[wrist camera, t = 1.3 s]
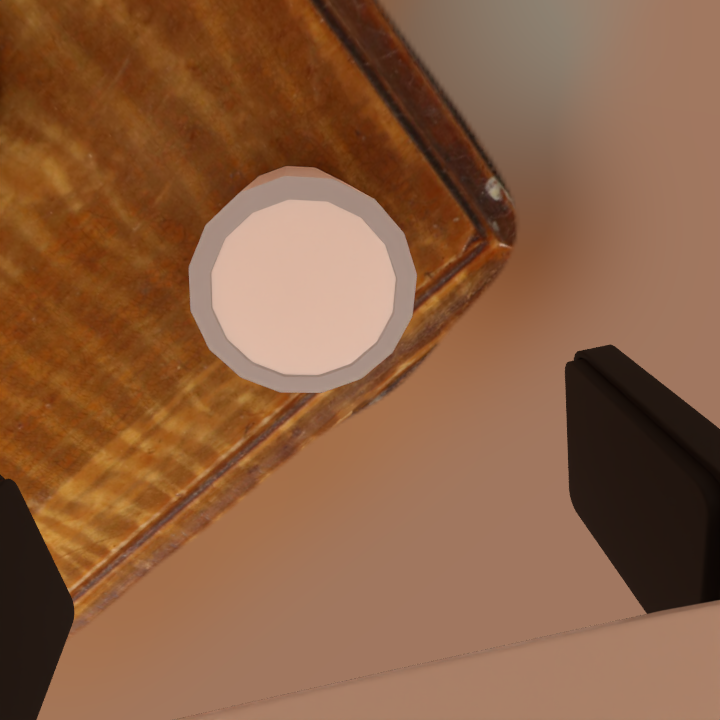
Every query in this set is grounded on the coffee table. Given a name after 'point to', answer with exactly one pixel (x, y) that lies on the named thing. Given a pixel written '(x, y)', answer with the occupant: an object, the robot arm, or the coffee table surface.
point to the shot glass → (302, 282)
